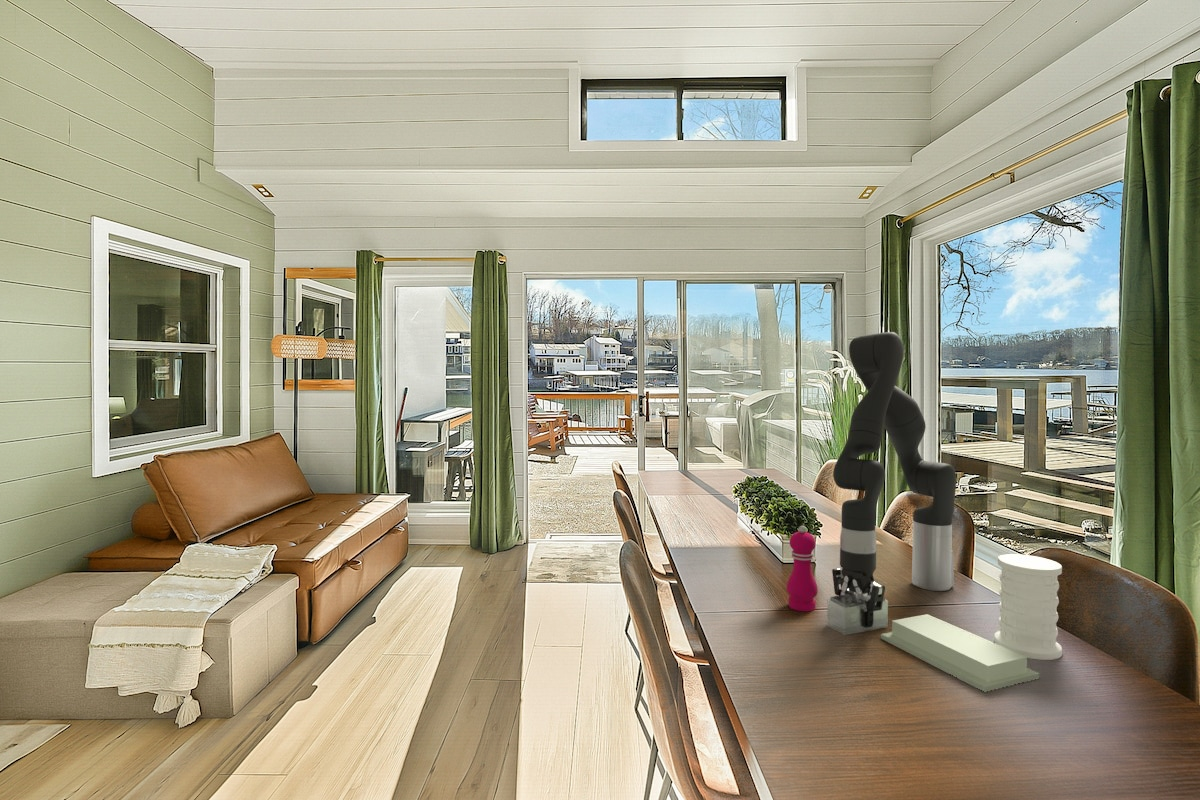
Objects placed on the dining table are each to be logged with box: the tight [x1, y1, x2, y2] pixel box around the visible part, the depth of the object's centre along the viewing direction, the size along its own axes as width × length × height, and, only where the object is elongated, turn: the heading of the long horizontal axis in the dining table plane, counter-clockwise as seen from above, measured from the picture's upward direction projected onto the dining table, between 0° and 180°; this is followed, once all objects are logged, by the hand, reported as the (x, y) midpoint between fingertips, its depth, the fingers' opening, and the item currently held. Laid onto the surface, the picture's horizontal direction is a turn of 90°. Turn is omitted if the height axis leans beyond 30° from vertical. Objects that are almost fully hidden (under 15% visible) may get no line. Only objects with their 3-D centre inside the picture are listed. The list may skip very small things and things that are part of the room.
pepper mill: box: [786, 525, 818, 612], centre depth 150 cm, size 7×7×20 cm
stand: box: [880, 613, 1040, 693], centre depth 124 cm, size 14×24×4 cm, turn 20°
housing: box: [826, 592, 889, 636], centre depth 139 cm, size 12×6×7 cm, turn 110°
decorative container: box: [993, 553, 1063, 661], centre depth 128 cm, size 12×12×18 cm
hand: (856, 621), depth 139 cm, fingers closed on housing, 5 cm apart
